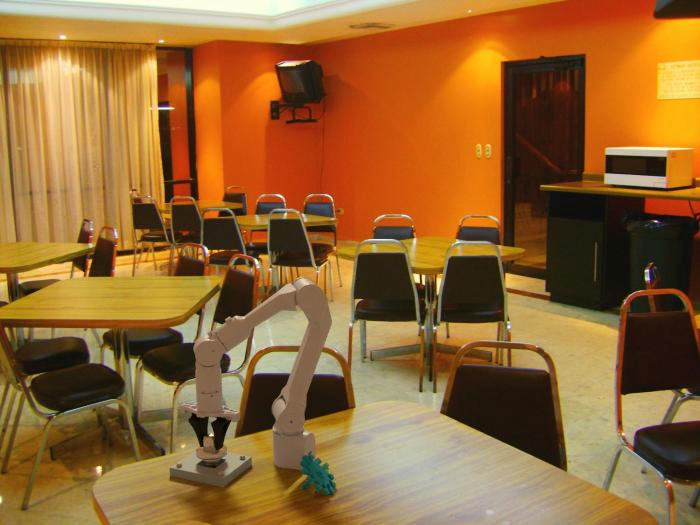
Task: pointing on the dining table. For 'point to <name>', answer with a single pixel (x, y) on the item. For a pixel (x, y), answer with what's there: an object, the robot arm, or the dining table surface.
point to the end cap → (210, 451)
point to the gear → (317, 475)
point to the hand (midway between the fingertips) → (211, 446)
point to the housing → (211, 469)
